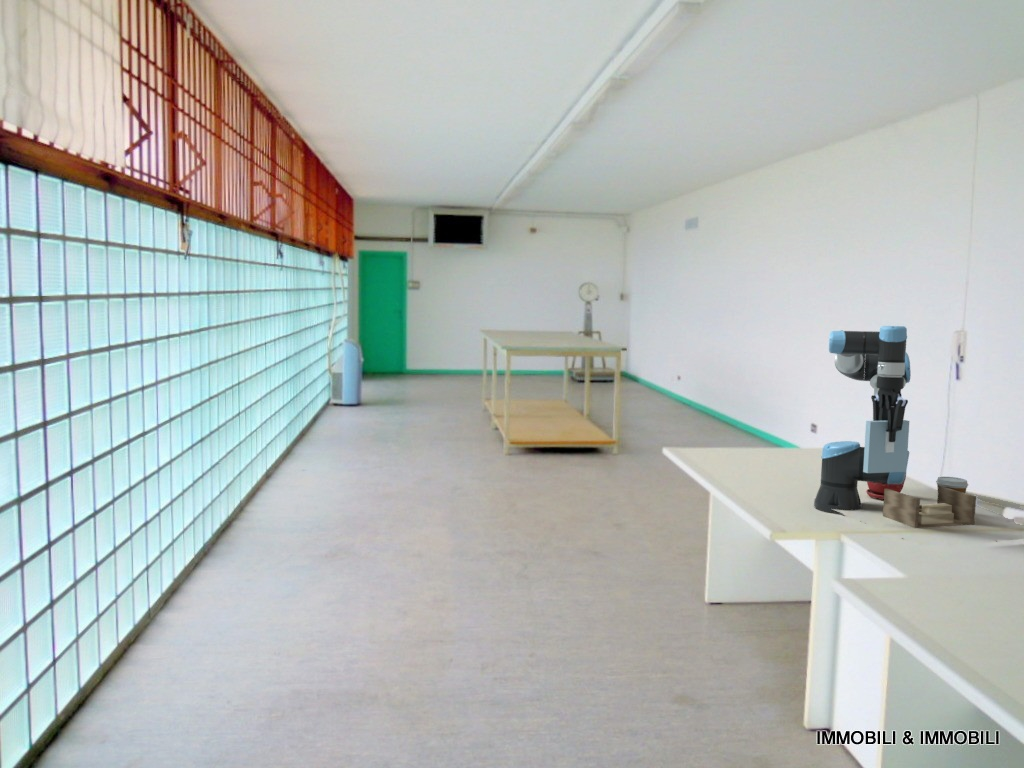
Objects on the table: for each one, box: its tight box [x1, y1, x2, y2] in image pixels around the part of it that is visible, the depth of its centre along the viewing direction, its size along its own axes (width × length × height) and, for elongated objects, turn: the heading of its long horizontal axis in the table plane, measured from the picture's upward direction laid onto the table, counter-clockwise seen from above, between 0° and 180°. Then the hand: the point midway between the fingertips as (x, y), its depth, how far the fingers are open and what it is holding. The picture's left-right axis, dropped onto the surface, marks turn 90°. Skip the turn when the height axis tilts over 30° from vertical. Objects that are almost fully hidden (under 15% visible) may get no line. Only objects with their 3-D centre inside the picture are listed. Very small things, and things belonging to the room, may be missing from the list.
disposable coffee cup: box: [935, 476, 969, 493], centre depth 255 cm, size 10×10×12 cm
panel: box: [863, 419, 910, 473], centre depth 235 cm, size 2×14×16 cm, turn 103°
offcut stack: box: [918, 503, 954, 524], centre depth 239 cm, size 4×12×6 cm, turn 103°
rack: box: [882, 486, 977, 529], centre depth 242 cm, size 14×22×10 cm, turn 103°
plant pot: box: [865, 474, 907, 500], centre depth 277 cm, size 13×13×12 cm
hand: (885, 451), depth 235 cm, fingers closed on panel, 2 cm apart
